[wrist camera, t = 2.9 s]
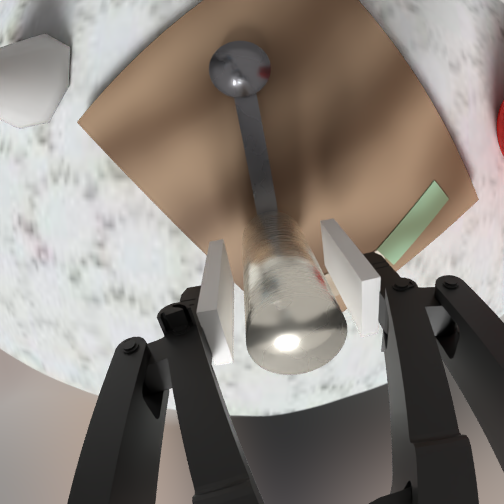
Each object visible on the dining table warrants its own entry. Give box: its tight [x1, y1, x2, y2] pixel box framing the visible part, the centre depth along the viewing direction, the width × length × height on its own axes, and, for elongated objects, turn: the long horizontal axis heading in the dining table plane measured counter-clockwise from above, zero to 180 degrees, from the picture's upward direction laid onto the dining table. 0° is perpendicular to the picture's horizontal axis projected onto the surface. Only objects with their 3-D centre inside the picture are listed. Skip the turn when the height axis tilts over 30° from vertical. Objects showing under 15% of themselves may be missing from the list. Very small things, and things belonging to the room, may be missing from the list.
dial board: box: [77, 0, 479, 312], centre depth 19 cm, size 22×18×2 cm
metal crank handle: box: [209, 41, 347, 375], centre depth 14 cm, size 16×4×10 cm, turn 11°
